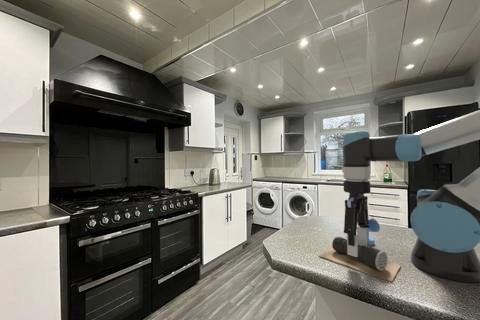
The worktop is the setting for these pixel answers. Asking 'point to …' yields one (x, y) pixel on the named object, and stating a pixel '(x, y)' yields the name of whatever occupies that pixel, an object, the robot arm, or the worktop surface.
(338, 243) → the flashlight
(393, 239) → the worktop surface
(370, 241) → the spotlight
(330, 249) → the mat
